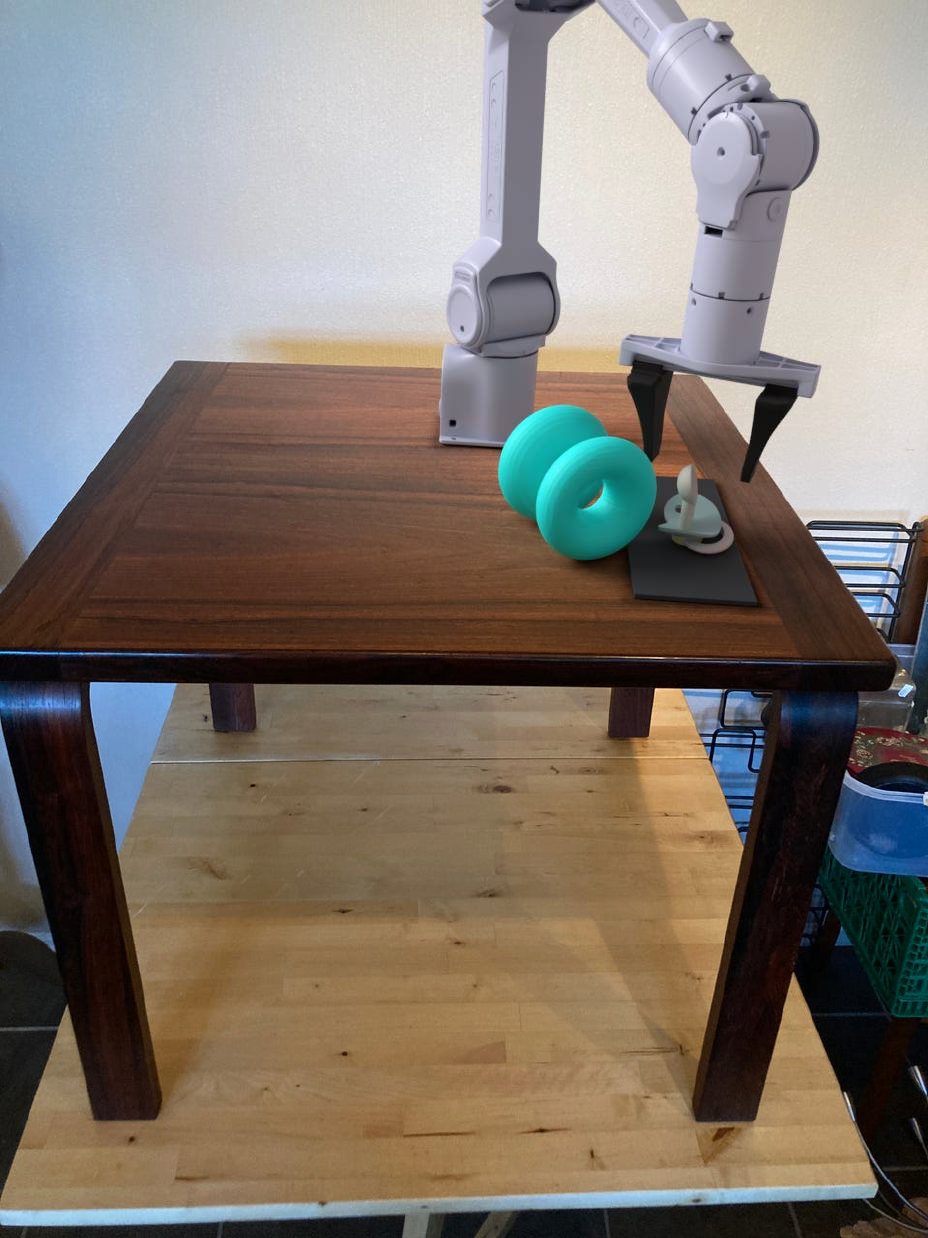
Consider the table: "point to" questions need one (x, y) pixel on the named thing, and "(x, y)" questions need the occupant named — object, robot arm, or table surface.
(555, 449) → the donuts
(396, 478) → the table surface
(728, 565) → the placemat
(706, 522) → the pacifier
